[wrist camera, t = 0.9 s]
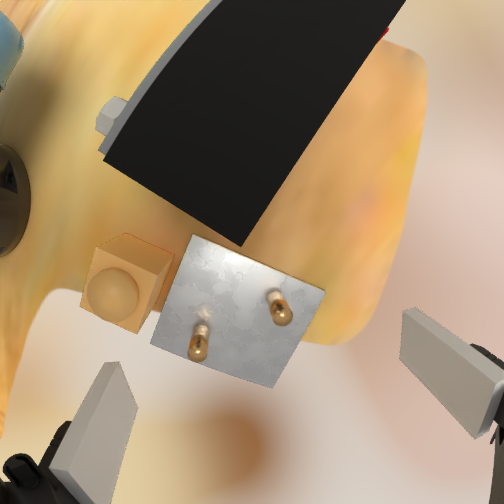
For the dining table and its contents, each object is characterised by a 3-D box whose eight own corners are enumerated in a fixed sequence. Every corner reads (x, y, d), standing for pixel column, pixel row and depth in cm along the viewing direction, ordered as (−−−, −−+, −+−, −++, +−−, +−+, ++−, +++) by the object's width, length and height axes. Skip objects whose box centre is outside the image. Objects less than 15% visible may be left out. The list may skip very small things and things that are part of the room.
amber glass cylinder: (189, 336, 35) (184, 358, 30) (195, 322, 34) (191, 342, 29) (205, 342, 35) (202, 365, 30) (212, 328, 34) (210, 349, 30)
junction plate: (151, 340, 35) (149, 343, 34) (193, 233, 33) (192, 234, 32) (271, 384, 37) (272, 388, 37) (324, 289, 35) (326, 292, 35)
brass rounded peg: (263, 304, 34) (268, 322, 29) (271, 288, 34) (278, 304, 29) (279, 310, 35) (287, 329, 30) (287, 294, 34) (296, 311, 29)
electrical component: (249, 41, 29) (271, -82, 10) (325, 88, 31) (418, 2, 11) (159, 166, 32) (69, 139, 12) (239, 216, 33) (254, 255, 14)
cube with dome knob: (110, 280, 33) (72, 312, 24) (126, 233, 33) (88, 250, 23) (156, 302, 34) (132, 341, 24) (174, 254, 33) (153, 280, 24)
